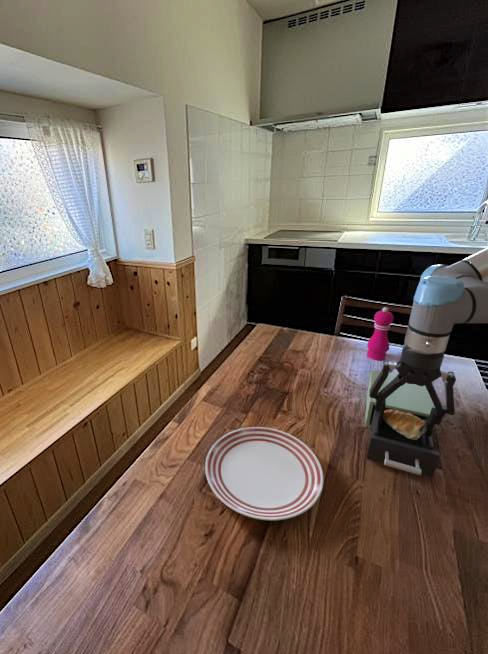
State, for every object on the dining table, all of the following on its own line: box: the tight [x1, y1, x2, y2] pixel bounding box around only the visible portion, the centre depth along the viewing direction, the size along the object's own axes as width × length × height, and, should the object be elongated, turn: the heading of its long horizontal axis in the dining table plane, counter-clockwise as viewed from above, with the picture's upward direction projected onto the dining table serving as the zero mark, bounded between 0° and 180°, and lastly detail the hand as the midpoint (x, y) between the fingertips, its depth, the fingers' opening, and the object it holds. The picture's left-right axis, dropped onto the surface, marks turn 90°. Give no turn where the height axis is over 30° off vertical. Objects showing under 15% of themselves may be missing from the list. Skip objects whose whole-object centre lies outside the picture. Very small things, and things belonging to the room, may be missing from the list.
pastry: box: [383, 409, 427, 440], centre depth 82 cm, size 9×7×4 cm
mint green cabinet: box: [364, 369, 435, 429], centre depth 96 cm, size 17×15×9 cm
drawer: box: [365, 405, 441, 479], centre depth 83 cm, size 20×14×7 cm
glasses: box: [245, 354, 295, 393], centre depth 117 cm, size 13×13×5 cm
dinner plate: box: [204, 426, 324, 522], centre depth 81 cm, size 28×27×3 cm
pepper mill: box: [366, 306, 394, 361], centre depth 123 cm, size 7×7×20 cm
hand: (402, 426), depth 82 cm, fingers closed on pastry, 9 cm apart
